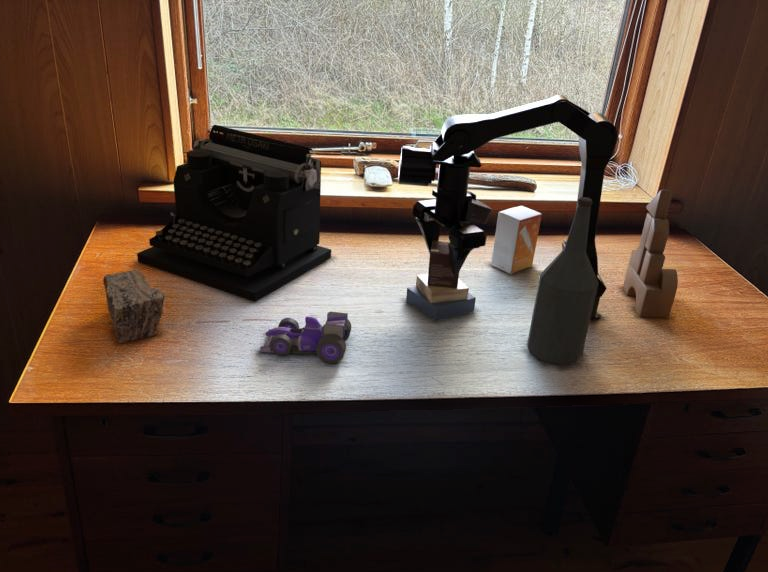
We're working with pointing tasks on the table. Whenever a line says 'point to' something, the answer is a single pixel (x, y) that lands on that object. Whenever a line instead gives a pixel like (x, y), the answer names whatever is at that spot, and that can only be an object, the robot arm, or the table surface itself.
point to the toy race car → (311, 337)
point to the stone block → (133, 305)
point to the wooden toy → (652, 263)
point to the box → (441, 266)
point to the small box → (515, 239)
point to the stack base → (439, 305)
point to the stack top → (441, 290)
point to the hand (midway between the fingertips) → (443, 263)
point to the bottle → (565, 298)
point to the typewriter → (242, 215)
